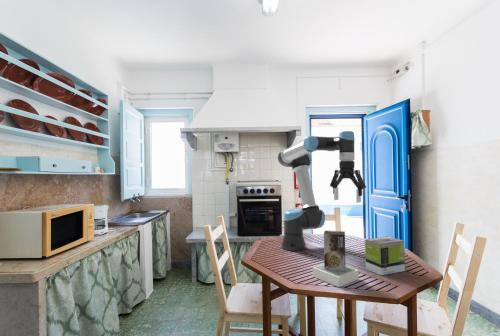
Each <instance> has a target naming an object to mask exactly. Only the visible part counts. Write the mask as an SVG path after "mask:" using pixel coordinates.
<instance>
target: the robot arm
mask: <svg viewBox="0 0 500 336" xmlns="http://www.w3.org/2000/svg"><path fill="white" fill-rule="evenodd" d="M338 134H339V135H338V136H315V135H308V136H306V137H304V139H303V141H302V142H300V143H298V144H296V145H294V146H292V147H290V148H284V149H282V150H281V151H279V153H278V154H277V161H278V163H279V164H280V165H281V166H283V167H285V168H292V172H294V173H295V177H296V181H297V182H296V183H297V187H298V192H299V197H300V201H301V208H292V209H291V208H290V209H287V210H286V211H284V213H283V237H282V241H281V243H280V245H281V246H280V247H281V249H283V250H286V251H290V252H291V251H292V252H299V251H305V250H306V249H307V244H306V241H305V237H304V230H313V229H314V230H316V229H321V228H322V227H323V226H324V224H325V223H326V216H325V212H324V211H323V210H322V209H320V206H319V205H318V204H317V203H316V200H315V195H314V190H313V186H312V182H311V181H312V180H311V177H310V173H309V169H310V167H311V164H312V155H311V153H313V152H316V151H326V152H334V151H338V152H339V154H338V155H339V157H338V158H339V163H338V164H339V167H338V168H339V169H335V170H334V173H333V174H334V175H333V176H332V178H331V181H330V183H329V187H332V192H333V200H334V201H338V200H339V187H338V186H339V185H340V184H341V183H342V181H343V180H345V179H349V180H351V182H352V183H353V184H354V186H355V187H356V192H355V193H356V199H355V200H356V203H362V196H363V190H365V189H366V188H367V185H365V181H364V179H363V177H362V176H361V170H360V169H355V159H356V158H355V141H356V140H355V132H354V131H351V130H345V131H340V132H339V133H338Z"/></svg>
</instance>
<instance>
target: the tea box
mask: <svg viewBox="0 0 500 336" xmlns="http://www.w3.org/2000/svg"><path fill="white" fill-rule="evenodd" d="M364 246H365V247H364V248H365V249H364V252H365V269H366V270H368V271H370V272H371V273H372V272H373V273H375V274H377V275H379V276H386V275H390V274H396V273H400V272H405V271H406V260H405V258H406V257H405V256H406V255H405V240H402V239H398V238H395V237H391V236H381V237H373V238H367V239H366V238H365V239H364Z"/></svg>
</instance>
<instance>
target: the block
mask: <svg viewBox="0 0 500 336" xmlns="http://www.w3.org/2000/svg"><path fill="white" fill-rule="evenodd" d="M359 276H360V275H359V270H358V269H356V268H353V267H352V266H347V265H346V271H337V270H327V269H324V263H323V264H320V265H316V266H314V267H312V278H315V279H319V280H321V281H323V282H325V283H327V284H330V285H333V286H334V287H337V288H340V287H342V286H343V287H344V286H345V285H348V284H351V283H353V282H355V281H357V280H359Z"/></svg>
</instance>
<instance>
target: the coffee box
mask: <svg viewBox="0 0 500 336" xmlns="http://www.w3.org/2000/svg"><path fill="white" fill-rule="evenodd" d="M345 232H346V231H342V230H341V231H339V230H324V232H323V249H324V250H323V252H324V253H323V255H324V256H323V258H324V259H323V261H324V262H323V264H324V269H327V270H337V271H346V266H347V265H346V233H345Z"/></svg>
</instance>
